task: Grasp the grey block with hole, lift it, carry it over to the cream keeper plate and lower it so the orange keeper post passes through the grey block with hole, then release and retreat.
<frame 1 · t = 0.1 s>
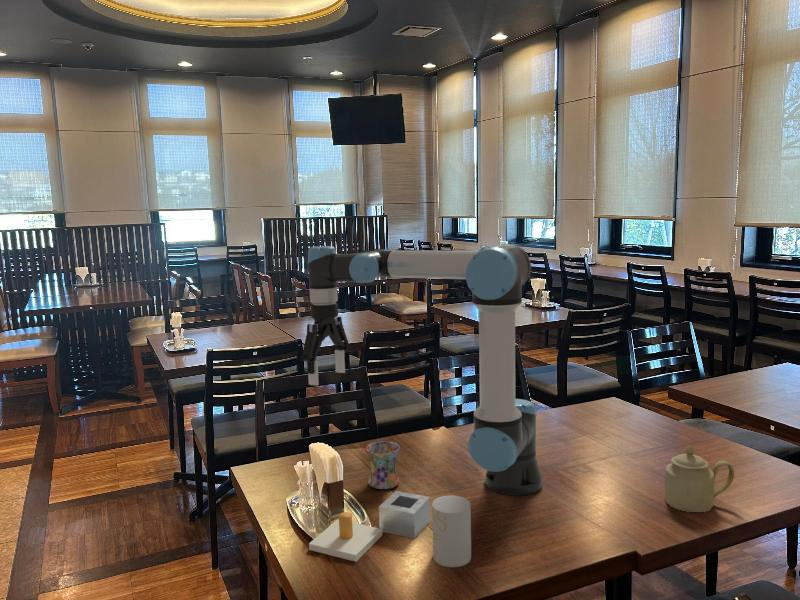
hand: (327, 378, 177), 28 cm above the table, fingers open, 13 cm apart
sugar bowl: (694, 502, 158), on the table
white upright cylinder: (452, 557, 136), on the table
keeper: (346, 542, 143), on the table
grey block with hole: (405, 525, 150), on the table
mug: (382, 483, 174), on the table
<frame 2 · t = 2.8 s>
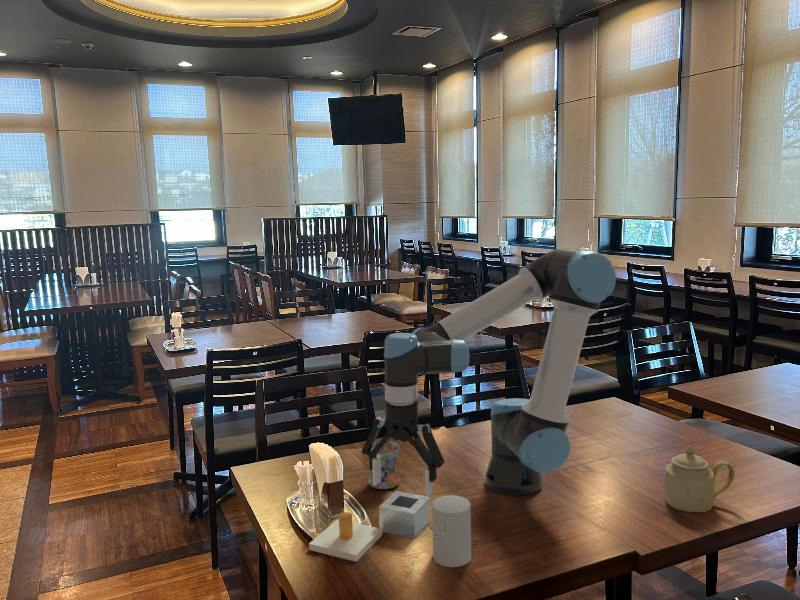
hand: (402, 488, 149), 9 cm above the table, fingers open, 13 cm apart
nothing on the table moved.
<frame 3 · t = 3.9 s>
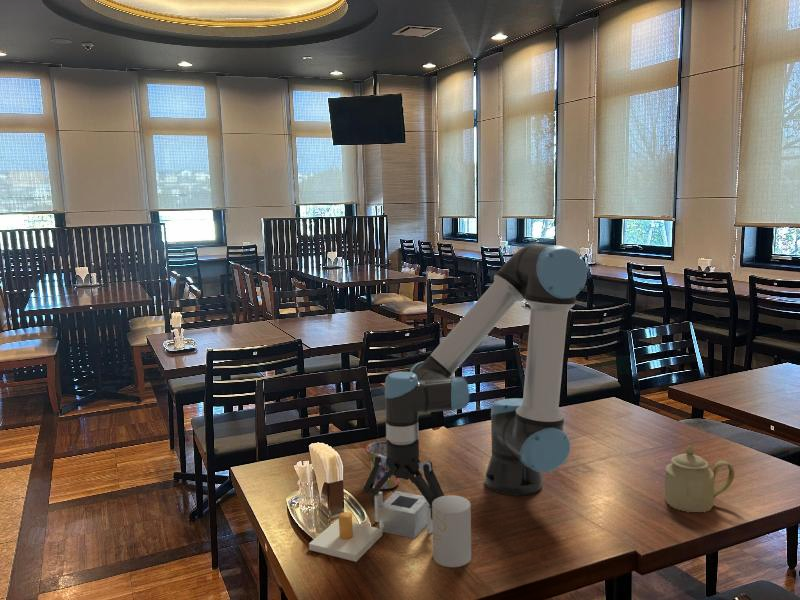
hand: (404, 525, 150), 0 cm above the table, fingers open, 13 cm apart
nothing on the table moved.
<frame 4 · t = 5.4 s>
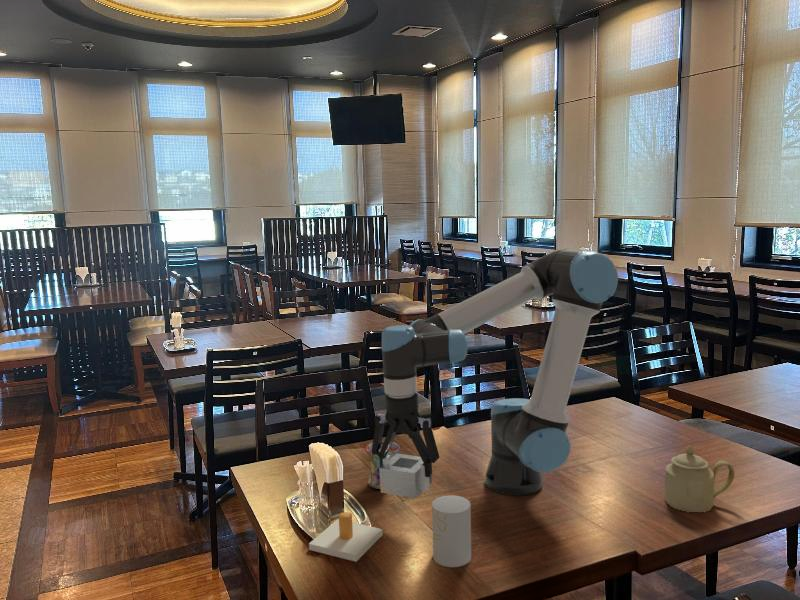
hand: (406, 486, 149), 10 cm above the table, fingers closed on grey block with hole, 9 cm apart
grey block with hole: (406, 487, 149), point 10 cm above the table, touching gripper
everything else where it was.
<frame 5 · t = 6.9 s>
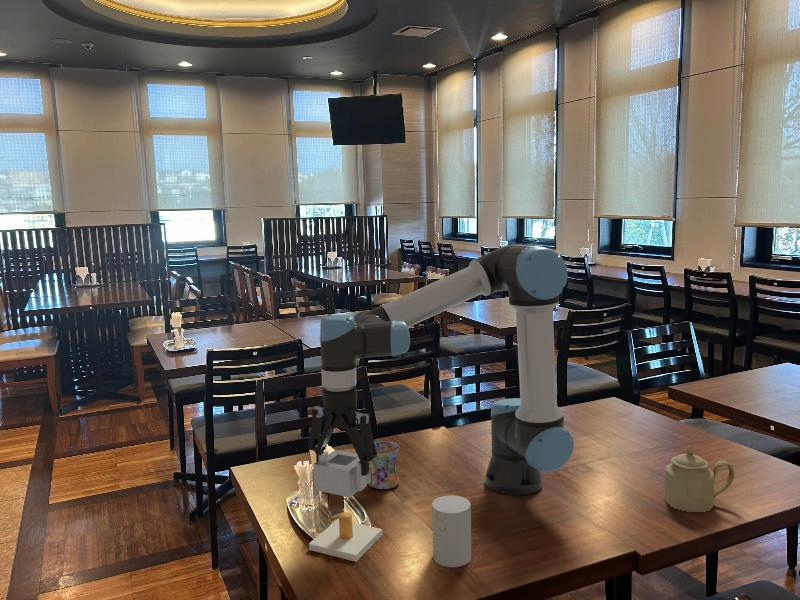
hand: (343, 484, 141), 14 cm above the table, fingers closed on grey block with hole, 9 cm apart
grey block with hole: (343, 485, 141), point 14 cm above the table, touching gripper
everything else where it was.
when the fingers open (3 cm above the table, at t = 8.6 s): grey block with hole drops 1 cm, resting on keeper.
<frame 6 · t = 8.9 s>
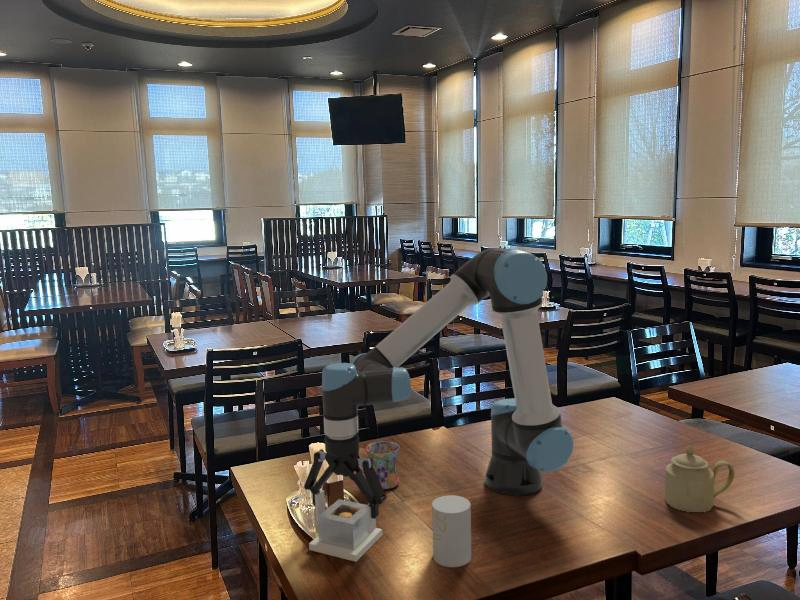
hand: (345, 525, 143), 4 cm above the table, fingers open, 13 cm apart
grey block with hole: (346, 536, 143), point 1 cm above the table, touching keeper
everything else where it was.
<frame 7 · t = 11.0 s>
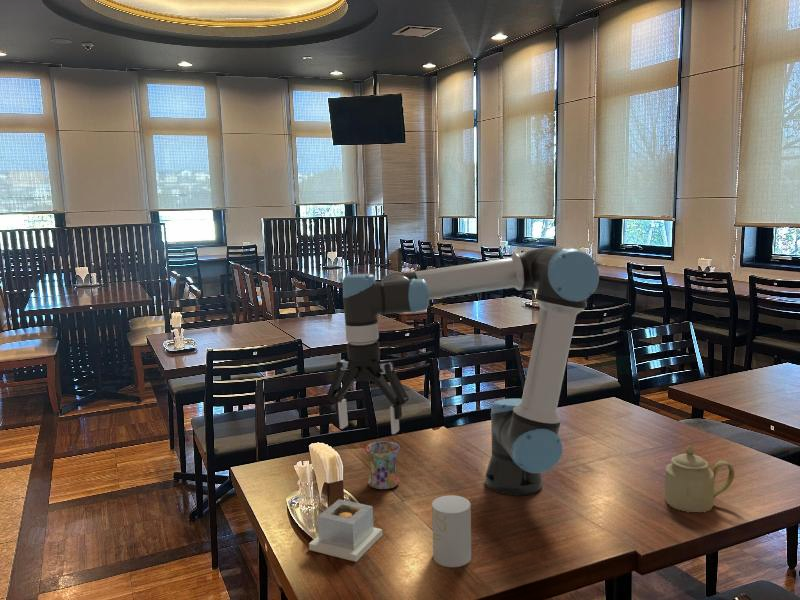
hand: (369, 429, 149), 23 cm above the table, fingers open, 13 cm apart
nothing on the table moved.
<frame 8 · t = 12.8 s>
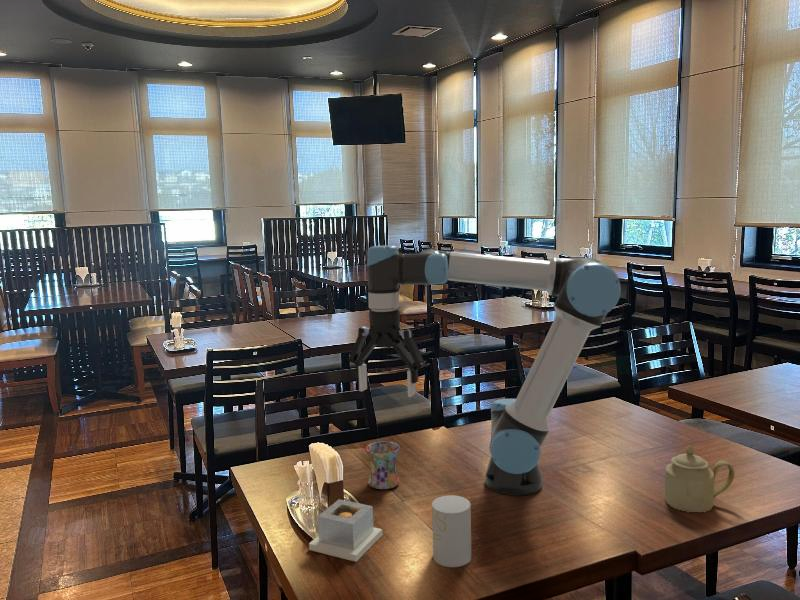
hand: (387, 392, 159), 29 cm above the table, fingers open, 13 cm apart
nothing on the table moved.
at the end: grey block with hole 0.1 cm off-centre on the keeper, point 1.5 cm above the keeper's base; grey block with hole tilted 0°; the gripper is holding nothing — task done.
